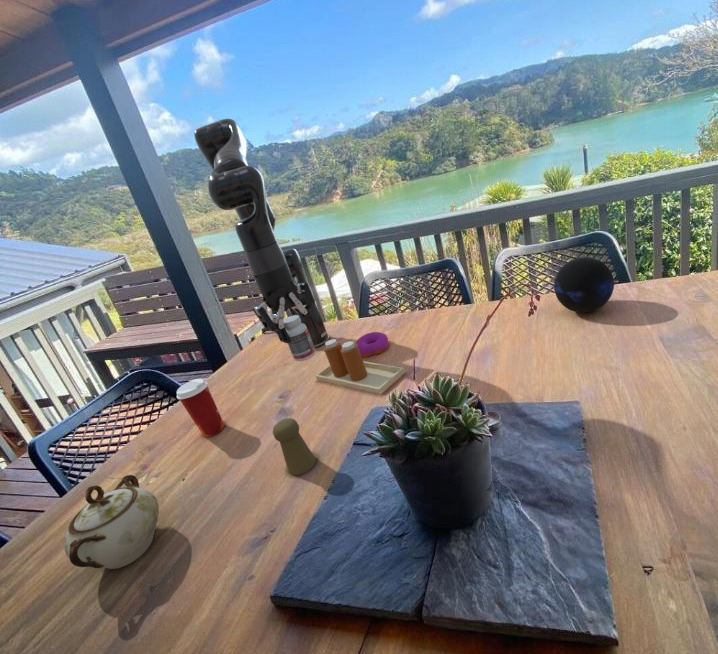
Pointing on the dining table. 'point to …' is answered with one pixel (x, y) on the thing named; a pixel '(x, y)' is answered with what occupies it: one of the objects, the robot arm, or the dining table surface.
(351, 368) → the amber bottle middle
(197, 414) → the paper cup
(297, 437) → the olive green pawn
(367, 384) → the tray
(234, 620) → the dining table surface
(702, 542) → the dining table surface
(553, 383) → the dining table surface
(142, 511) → the sugar bowl
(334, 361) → the amber bottle far
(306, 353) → the pill bottle
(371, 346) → the donut
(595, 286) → the decorative sphere
